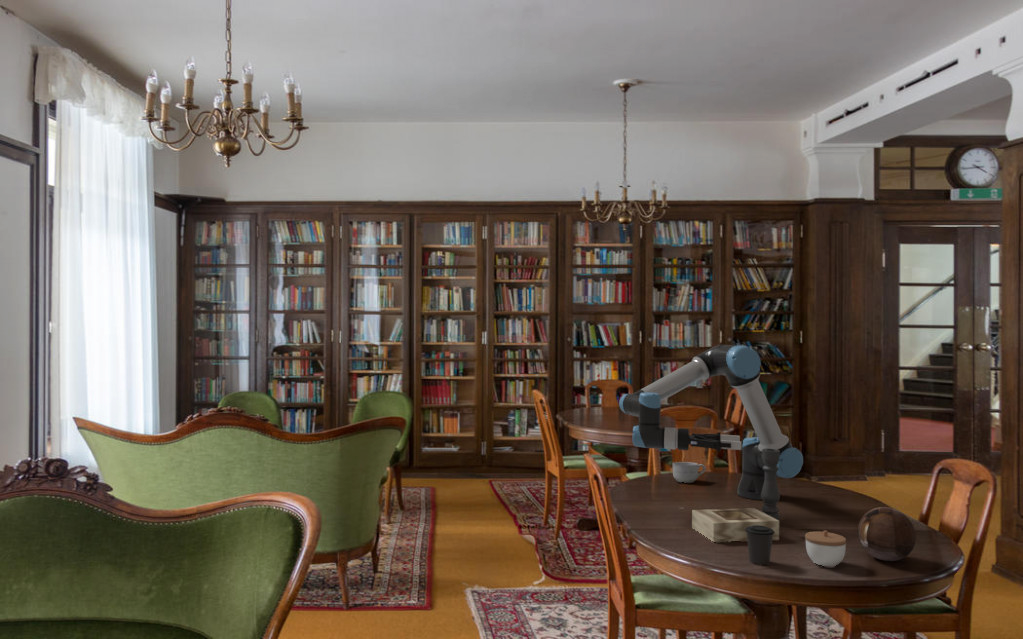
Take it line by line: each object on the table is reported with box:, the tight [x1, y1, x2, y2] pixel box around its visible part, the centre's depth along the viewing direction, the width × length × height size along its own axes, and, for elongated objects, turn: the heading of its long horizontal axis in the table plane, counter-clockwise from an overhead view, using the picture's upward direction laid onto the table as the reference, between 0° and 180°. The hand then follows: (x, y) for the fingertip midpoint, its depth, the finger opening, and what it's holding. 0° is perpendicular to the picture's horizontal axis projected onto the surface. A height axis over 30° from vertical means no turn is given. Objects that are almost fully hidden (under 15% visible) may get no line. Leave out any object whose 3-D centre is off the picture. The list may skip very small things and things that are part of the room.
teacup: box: [672, 461, 706, 484], centre depth 314 cm, size 14×11×8 cm
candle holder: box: [760, 449, 781, 521], centre depth 250 cm, size 6×6×25 cm
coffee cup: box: [745, 525, 775, 566], centre depth 209 cm, size 8×8×10 cm
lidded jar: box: [804, 530, 847, 567], centre depth 208 cm, size 11×11×9 cm
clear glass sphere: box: [857, 506, 917, 562], centre depth 213 cm, size 15×15×15 cm
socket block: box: [691, 507, 780, 543], centre depth 237 cm, size 22×16×6 cm
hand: (740, 442), depth 252 cm, fingers open, 13 cm apart
